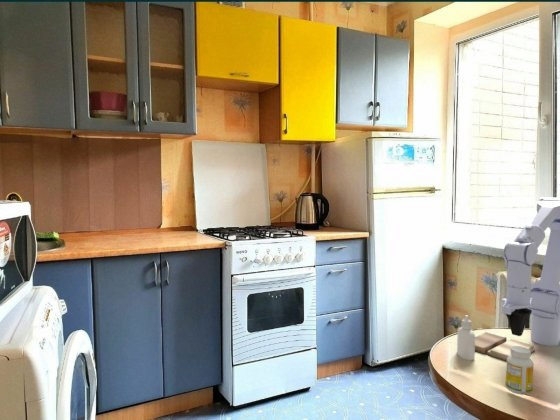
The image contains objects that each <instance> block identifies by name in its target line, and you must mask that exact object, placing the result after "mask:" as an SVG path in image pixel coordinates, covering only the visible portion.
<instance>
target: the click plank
mask: <svg viewBox="0 0 560 420" xmlns="http://www.w3.org/2000/svg"><path fill="white" fill-rule="evenodd" d="M512 346H520V347H525V348H527V349H529V350H530V351H531V352H532V351H535V345H533V344H530V343H527V342H523V341H520V340H516V339H513V338H511V339H509V340H506V342H505V343H503V344H501V345H499V346H497V347H495V348H493V349H491V350H489V351H487V354H488V355H489V354H490V355H491V356H490V357H492V356H493V358H496V357H497V358H498V359H499V358H500V359H499V360H501V359H503V360H502V361H505V360H506V361H505V362H507V357H508V356H510V355H511V347H512ZM497 358H496V359H497Z"/></svg>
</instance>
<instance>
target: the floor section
mask: <svg viewBox="0 0 560 420" xmlns="http://www.w3.org/2000/svg"><path fill="white" fill-rule="evenodd" d="M505 342H507V337H506V336H501V335H497V334H494V333H491V332H486V331H485V332H484V333H482V334H479V335H477V336H475V353H478V354H479V353H480V354H482V355H485V356H488V357H492V358H494V356H491V355H490V354H487V351H489V350H491V349H493V348H495V347H497V346H499V345H501V344H503V343H505ZM535 352H536V350H534V351H532V352H531V354H533V353H535ZM495 359H499V360H501V361H504V362H507V361H506V360H503V359H500V358H497V357H495Z"/></svg>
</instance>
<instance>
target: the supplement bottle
mask: <svg viewBox="0 0 560 420" xmlns="http://www.w3.org/2000/svg"><path fill="white" fill-rule="evenodd" d="M531 355H532V353H531V351H530V350H529V349H527V348H525V347H520V346H512V347H511V355H510V356H508V357H507V361H506V366H505V367H506V373H505V385H506V386H505V387H506V389H507V390H508V391H509V392H512V393H514V394H517V395H521V396H523V395H526V396H527V395H528V394H527V393H529V392H531V391H533V379H534V377H533V376H534V361H533V360H532V359H531Z"/></svg>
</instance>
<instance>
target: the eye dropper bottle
mask: <svg viewBox="0 0 560 420" xmlns="http://www.w3.org/2000/svg"><path fill="white" fill-rule="evenodd" d="M469 318H470V317H469V315H466V314H465V316H464V318H463V319H461V327H459V328H458V329H457V339H456V340H457V341H456V342H457V343H456V345H457V346H456V347H457V348H456V354H457V355H458V357H459V358H461V359H464V360H466V361H475V356H476V355H475V353H476V351H475V337H476V335H475V333H474V330H472V320H471V319H469Z"/></svg>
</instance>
